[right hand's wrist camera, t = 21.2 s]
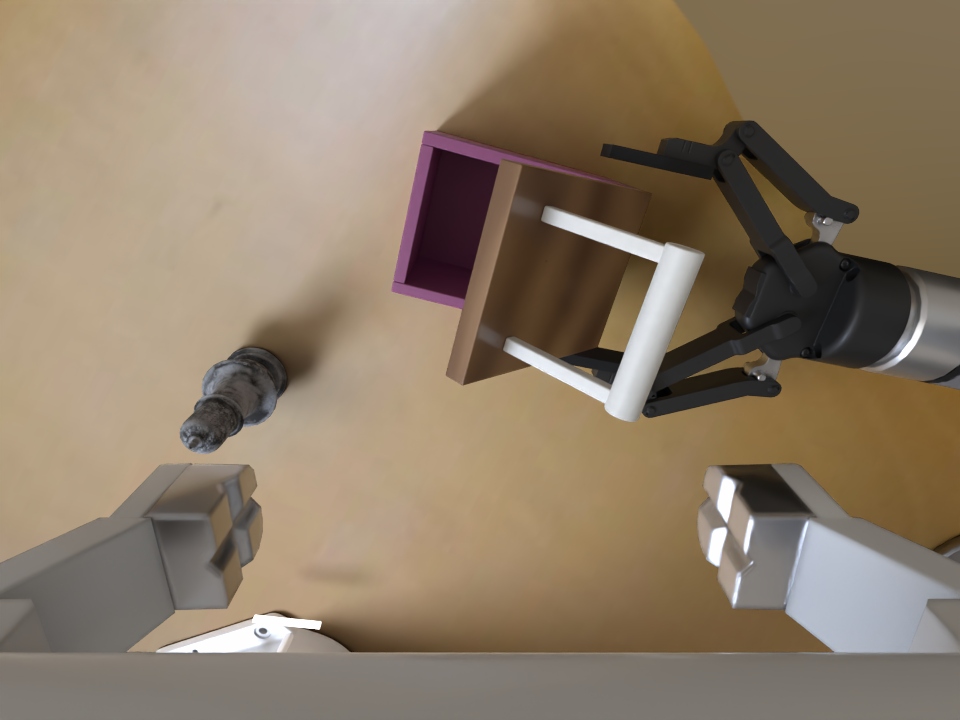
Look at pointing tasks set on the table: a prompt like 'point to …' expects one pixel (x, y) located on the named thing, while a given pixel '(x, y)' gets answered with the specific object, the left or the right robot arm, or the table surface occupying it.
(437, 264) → the chest
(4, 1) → the table surface
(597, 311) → the lid
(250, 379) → the pewter chess piece
